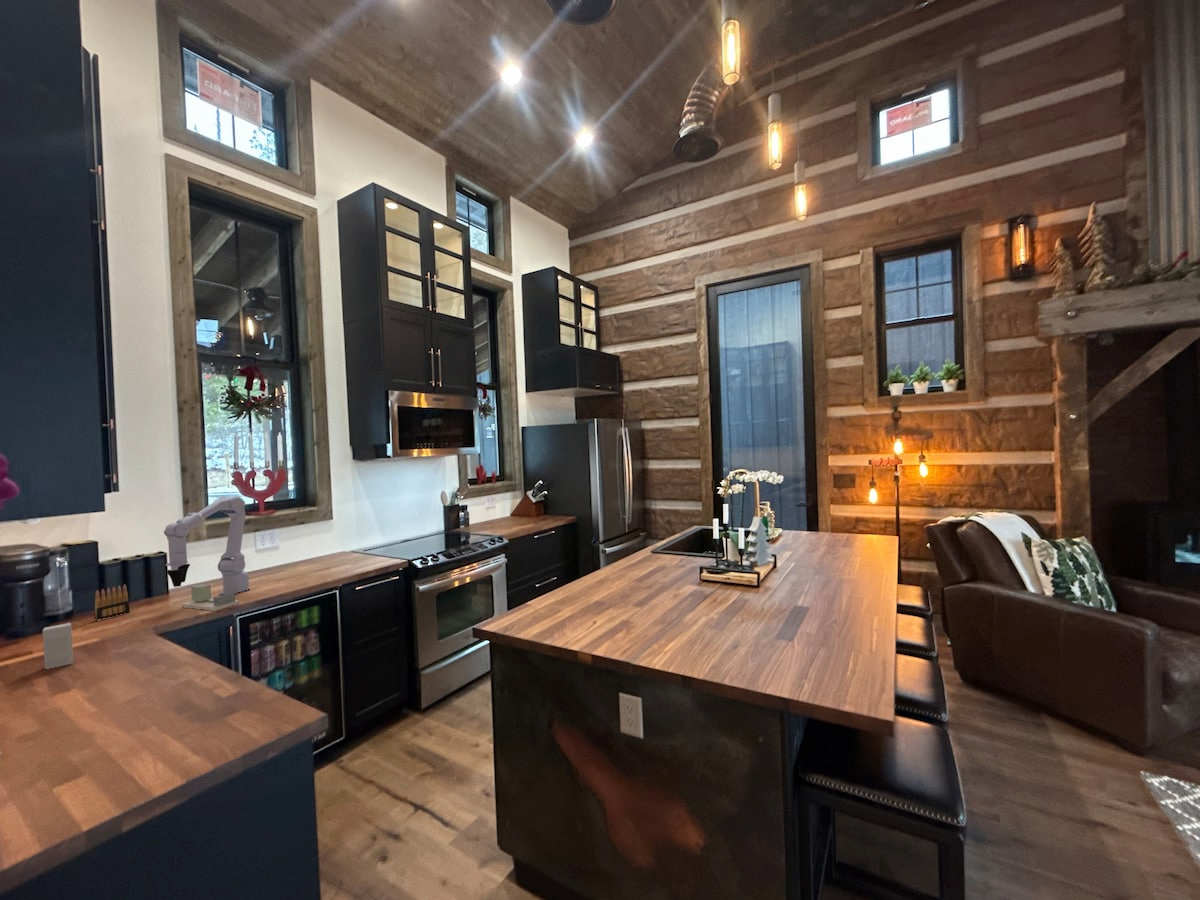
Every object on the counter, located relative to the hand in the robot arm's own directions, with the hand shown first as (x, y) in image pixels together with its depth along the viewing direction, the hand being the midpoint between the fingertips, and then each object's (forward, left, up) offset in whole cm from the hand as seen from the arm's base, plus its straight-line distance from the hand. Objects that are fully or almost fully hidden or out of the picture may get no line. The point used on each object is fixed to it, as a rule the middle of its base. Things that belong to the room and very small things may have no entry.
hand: (179, 584), depth 215 cm
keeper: (-6, +3, -8) cm, 11 cm away
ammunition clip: (+15, -17, -10) cm, 25 cm away
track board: (-6, +9, -10) cm, 15 cm away
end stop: (-6, +18, -9) cm, 21 cm away
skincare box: (+50, +28, -10) cm, 58 cm away
